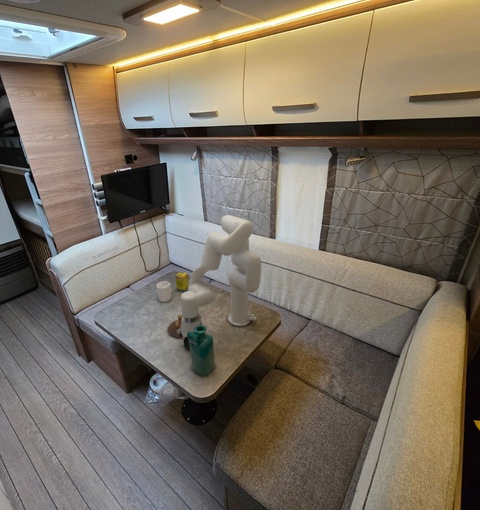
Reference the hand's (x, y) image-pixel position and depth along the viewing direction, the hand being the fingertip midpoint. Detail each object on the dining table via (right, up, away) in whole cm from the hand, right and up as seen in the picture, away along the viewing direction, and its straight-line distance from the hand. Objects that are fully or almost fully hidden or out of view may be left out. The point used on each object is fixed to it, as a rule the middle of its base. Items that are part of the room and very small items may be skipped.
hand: (193, 345), depth 137 cm
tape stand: (-7, +5, +12) cm, 15 cm away
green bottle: (+5, -6, -13) cm, 15 cm away
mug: (-20, +18, +41) cm, 49 cm away
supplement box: (-10, +22, +50) cm, 55 cm away
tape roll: (0, 0, 0) cm, 0 cm away
